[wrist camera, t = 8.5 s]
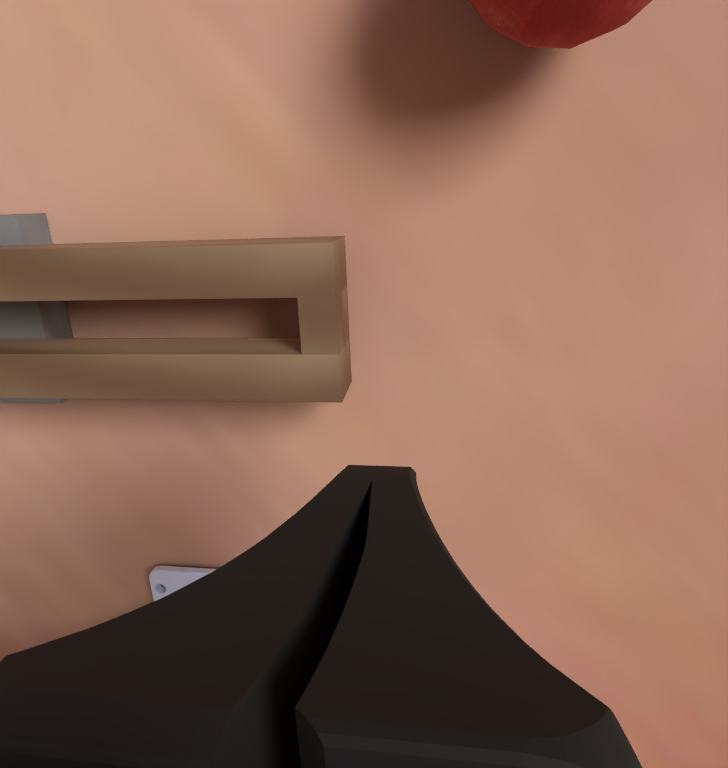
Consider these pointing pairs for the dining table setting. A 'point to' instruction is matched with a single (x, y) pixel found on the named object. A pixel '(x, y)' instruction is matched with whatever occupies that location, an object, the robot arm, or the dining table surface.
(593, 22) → the onion
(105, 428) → the dining table surface
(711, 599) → the dining table surface
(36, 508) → the dining table surface
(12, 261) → the beam
